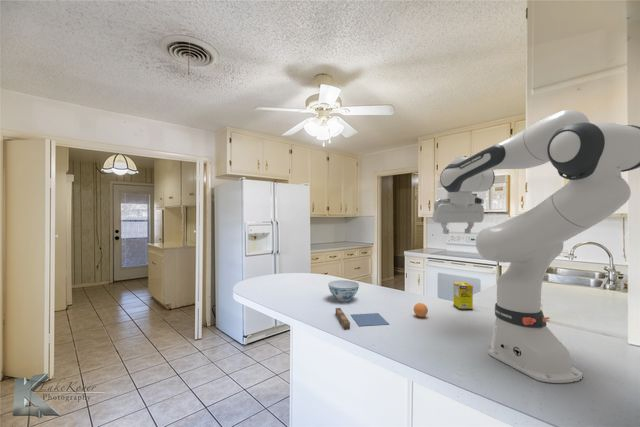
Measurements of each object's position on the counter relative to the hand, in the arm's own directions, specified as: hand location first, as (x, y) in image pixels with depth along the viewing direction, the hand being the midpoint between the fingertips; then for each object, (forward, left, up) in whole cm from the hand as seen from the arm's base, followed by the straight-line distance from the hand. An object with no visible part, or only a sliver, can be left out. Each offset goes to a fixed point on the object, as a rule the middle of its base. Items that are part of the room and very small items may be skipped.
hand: (456, 233), depth 116 cm
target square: (+5, +35, -34) cm, 49 cm away
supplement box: (+12, -11, -35) cm, 38 cm away
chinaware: (+32, +39, -35) cm, 61 cm away
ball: (+5, +13, -32) cm, 34 cm away
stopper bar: (+5, +46, -34) cm, 57 cm away
